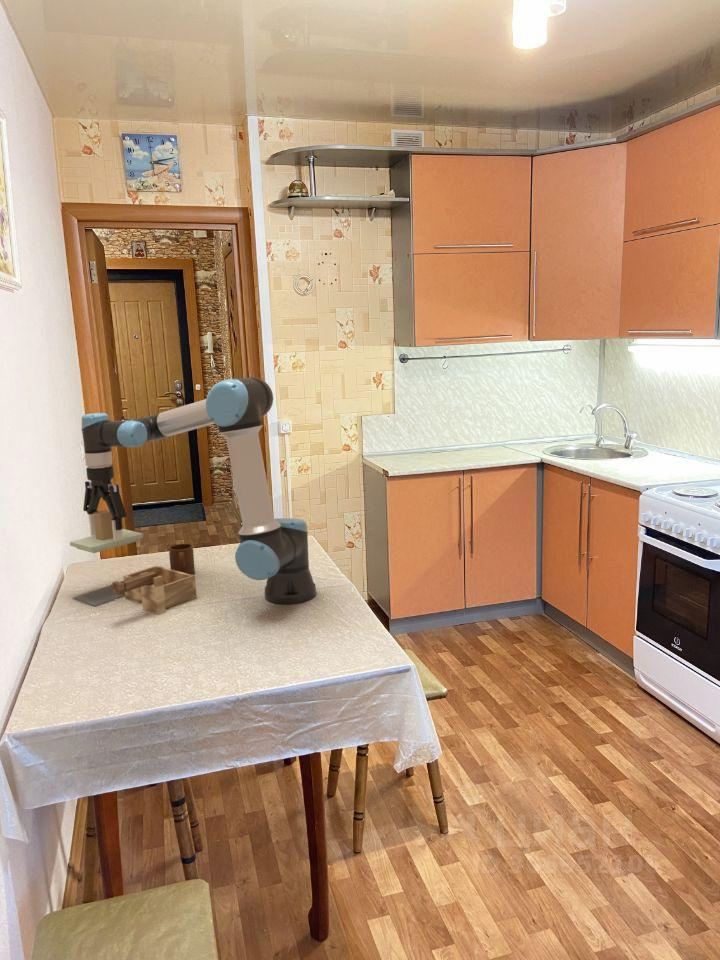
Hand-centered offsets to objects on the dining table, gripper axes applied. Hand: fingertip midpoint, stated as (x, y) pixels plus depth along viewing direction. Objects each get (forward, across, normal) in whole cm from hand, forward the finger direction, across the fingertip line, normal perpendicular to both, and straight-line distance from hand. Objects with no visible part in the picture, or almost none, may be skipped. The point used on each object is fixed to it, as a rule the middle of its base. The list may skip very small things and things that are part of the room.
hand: (106, 537), depth 215 cm
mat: (+17, 0, 0) cm, 17 cm away
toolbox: (+17, -18, -4) cm, 25 cm away
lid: (+1, 0, 0) cm, 1 cm away
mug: (+18, -6, -22) cm, 29 cm away
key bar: (+9, -24, +7) cm, 26 cm away
